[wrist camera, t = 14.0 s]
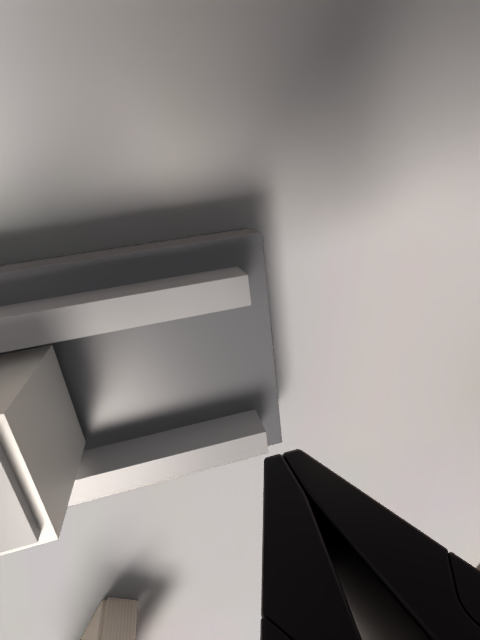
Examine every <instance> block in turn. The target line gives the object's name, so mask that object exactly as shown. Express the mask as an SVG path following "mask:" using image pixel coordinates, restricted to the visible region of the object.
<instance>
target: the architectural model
mask: <svg viewBox="0 0 480 640" xmlns="http://www.w3.org/2000/svg"><path fill="white" fill-rule="evenodd" d="M137 605H138V600H131V599H122V598H114V597H108V598H107V600H105V599H102V601H101V603H100V604H99V606H98V608H97V610H96V612H95V613H94V615H93V617H92V619H91V621H90V623H89V624H88V626H87V628H86V630H85V632H84V633H83V635H82V637H81V639H80V640H136V629H137ZM104 615H105V616H104Z"/></svg>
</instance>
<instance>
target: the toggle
mask: <svg viewBox="0 0 480 640" xmlns="http://www.w3.org/2000/svg"><path fill="white" fill-rule="evenodd" d="M85 443H86V441H85V438H84V436H83V433H82V430H81V427H80V424H79V421H78V418H77V415H76V412H75V409H74V407H73V404H72V401H71V398H70V395H69V392H68V389H67V386H66V383H65V380H64V378H63V375H62V372H61V369H60V366H59V363H58V360H57V357H56V354H55V351H54V349H53V346H52V345H47V346H42V347H36V348H31V349H26V350H21V351H15V352H10V353H5V354H0V555H4V554H8V553H11V552H15V551H18V550H22V549H25V548H29V547H33V546H36V545H40V544H43V543H47V542H51V541H54V540H58V538H59V535H60V531H61V528H62V524H63V521H64V517H65V514H66V510H67V507H68V503H69V500H70V496H71V492H72V489H73V485H74V482H75V478H76V475H77V471H78V468H79V464H80V461H81V457H82V454H83V450H84V446H85Z"/></svg>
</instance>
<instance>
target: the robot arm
mask: <svg viewBox="0 0 480 640" xmlns="http://www.w3.org/2000/svg"><path fill="white" fill-rule="evenodd" d="M261 616H262V619H261V636H260V640H480V571H479V570H478V569H476V568H475V567H473V566H472V565H470V564H469V563H467V562H466V561H464V560H463V559H461V558H460V557H458V556H457V555H455V554H454V553H452V552H449V553H448V551H447V549H446V548H445V547H443V546H442V545H440V544H439V543H437V542H436V541H434V540H433V539H431V538H430V537H429V536H427V535H426V534H424V533H423V532H421V531H420V530H418V529H417V528H415V527H414V526H412V525H411V524H409V523H408V522H406V521H405V520H404V519H402V518H401V517H399V516H398V515H396V514H395V513H393V512H392V511H390V510H389V509H387V508H386V507H384V506H383V505H381V504H380V503H378V502H377V501H376V500H374V499H373V498H371V497H370V496H368V495H367V494H365V493H364V492H362V491H361V490H359V489H358V488H356V487H355V486H353V485H352V484H350V483H349V482H348V481H346V480H345V479H343V478H342V477H340V476H339V475H337V474H336V473H334V472H333V471H331V470H330V469H328V468H327V467H325V466H324V465H323V464H321V463H320V462H318V461H317V460H315V459H314V458H312V457H311V456H309V455H308V454H306V453H305V452H303V451H302V450H299V449H296V450H293V451H289V452H285V453H284V454H283V455H280V454H278V455H274V456H270V457H267V458H265V460H264V492H263V545H262V597H261Z"/></svg>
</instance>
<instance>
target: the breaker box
mask: <svg viewBox="0 0 480 640" xmlns="http://www.w3.org/2000/svg"><path fill="white" fill-rule="evenodd" d="M47 345H52V346H53V349H54V351H55V354H56V357H57V360H58V363H59V366H60V369H61V372H62V375H63V378H64V380H65V383H66V386H67V389H68V392H69V395H70V398H71V401H72V404H73V407H74V409H75V412H76V415H77V418H78V421H79V424H80V427H81V430H82V433H83V436H84V438H85V441H86V443H85V446H84V450H83V454H82V457H81V461H80V464H79V468H78V471H77V475H76V478H75V482H74V485H73V489H72V492H71V496H70V500H69V503H68V506H71V505H75V504H79V503H82V502H86V501H90V500H94V499H97V498H101V497H105V496H109V495H112V494H116V493H120V492H124V491H127V490H131V489H135V488H139V487H142V486H146V485H150V484H154V483H158V482H161V481H165V480H169V479H173V478H176V477H180V476H184V475H188V474H191V473H195V472H199V471H203V470H206V469H210V468H214V467H218V466H221V465H225V464H229V463H233V462H237V461H240V460H244V459H248V458H252V457H255V456H259V455H263V454H267V453H268V446H270V445H273V444H277V443H281V442H282V436H281V426H280V416H279V405H278V395H277V384H276V374H275V364H274V353H273V343H272V333H271V322H270V312H269V302H268V291H267V281H266V271H265V260H264V250H263V240H262V233H260V232H257V231H255V230H252V229H249V228H246V229H239V230H233V231H226V232H219V233H213V234H206V235H200V236H193V237H186V238H180V239H173V240H167V241H160V242H153V243H147V244H140V245H133V246H127V247H120V248H114V249H107V250H100V251H94V252H87V253H81V254H74V255H67V256H61V257H54V258H48V259H41V260H34V261H28V262H21V263H15V264H8V265H1V266H0V354H5V353H10V352H15V351H21V350H26V349H31V348H36V347H42V346H47Z"/></svg>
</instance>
